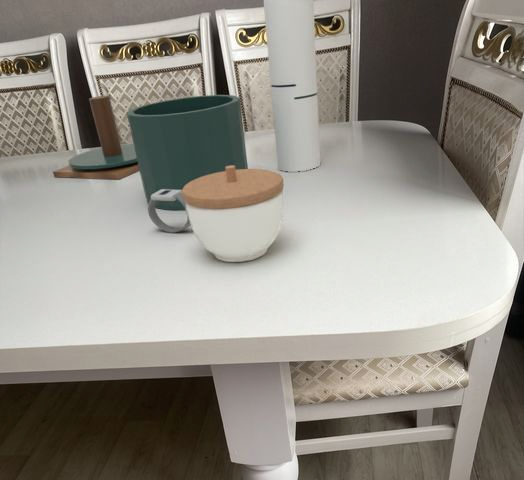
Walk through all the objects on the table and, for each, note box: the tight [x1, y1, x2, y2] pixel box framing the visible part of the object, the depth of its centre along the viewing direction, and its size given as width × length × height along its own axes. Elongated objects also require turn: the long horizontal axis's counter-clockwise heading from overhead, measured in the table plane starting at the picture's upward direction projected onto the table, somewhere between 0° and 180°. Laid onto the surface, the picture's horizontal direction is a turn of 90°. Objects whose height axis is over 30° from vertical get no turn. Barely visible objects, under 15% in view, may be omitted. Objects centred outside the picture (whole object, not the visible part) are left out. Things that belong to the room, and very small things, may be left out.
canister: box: [126, 94, 249, 211], centre depth 77 cm, size 16×16×12 cm
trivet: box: [52, 162, 140, 181], centre depth 102 cm, size 16×16×1 cm
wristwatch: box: [147, 189, 191, 234], centre depth 66 cm, size 6×3×5 cm, turn 66°
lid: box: [68, 95, 137, 170], centre depth 99 cm, size 17×17×11 cm
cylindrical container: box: [263, 0, 321, 173], centre depth 81 cm, size 7×7×25 cm
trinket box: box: [182, 165, 285, 263], centre depth 57 cm, size 11×11×9 cm
